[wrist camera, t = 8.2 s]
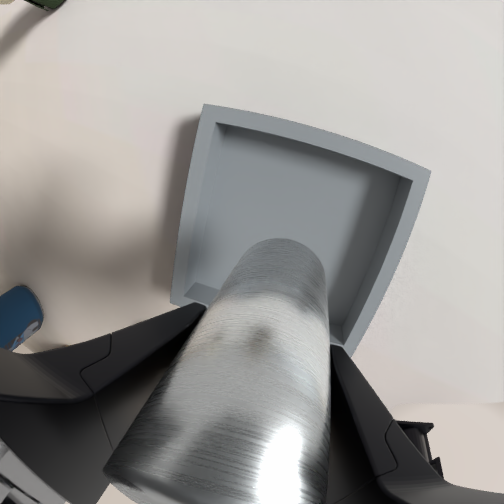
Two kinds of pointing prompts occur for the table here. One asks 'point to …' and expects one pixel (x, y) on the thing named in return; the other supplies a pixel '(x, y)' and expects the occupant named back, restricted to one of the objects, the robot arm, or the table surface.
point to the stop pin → (241, 394)
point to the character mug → (38, 3)
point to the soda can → (18, 316)
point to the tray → (295, 210)
